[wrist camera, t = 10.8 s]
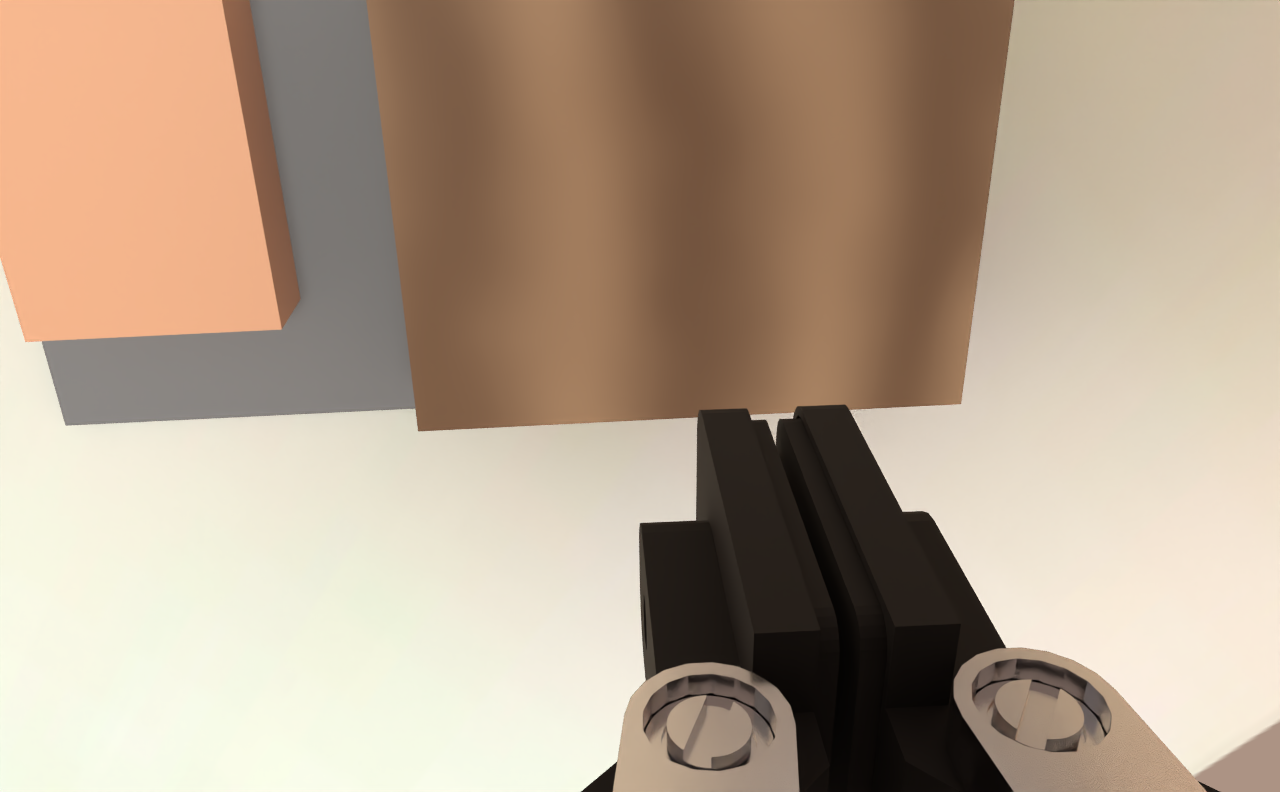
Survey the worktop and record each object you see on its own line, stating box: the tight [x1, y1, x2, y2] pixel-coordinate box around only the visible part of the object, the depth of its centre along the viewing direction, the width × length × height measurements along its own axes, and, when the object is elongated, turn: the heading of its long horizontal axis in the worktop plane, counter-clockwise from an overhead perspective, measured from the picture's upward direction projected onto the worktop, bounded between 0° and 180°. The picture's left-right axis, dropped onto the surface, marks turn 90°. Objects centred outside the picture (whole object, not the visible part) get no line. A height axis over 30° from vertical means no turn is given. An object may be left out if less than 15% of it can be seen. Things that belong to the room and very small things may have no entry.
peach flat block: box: [0, 0, 300, 342], centre depth 28 cm, size 7×9×2 cm
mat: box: [42, 0, 415, 425], centre depth 30 cm, size 11×16×1 cm
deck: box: [366, 0, 1014, 431], centre depth 29 cm, size 16×14×4 cm
